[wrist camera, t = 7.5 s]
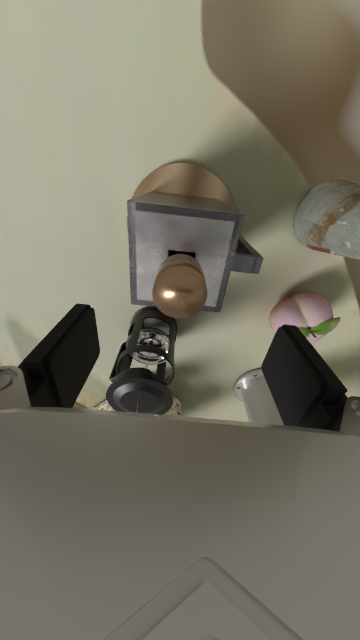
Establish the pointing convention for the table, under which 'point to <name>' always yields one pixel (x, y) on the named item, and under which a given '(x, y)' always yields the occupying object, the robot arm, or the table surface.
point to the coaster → (185, 183)
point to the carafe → (186, 242)
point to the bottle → (330, 219)
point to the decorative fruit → (305, 315)
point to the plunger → (180, 286)
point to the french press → (140, 383)
